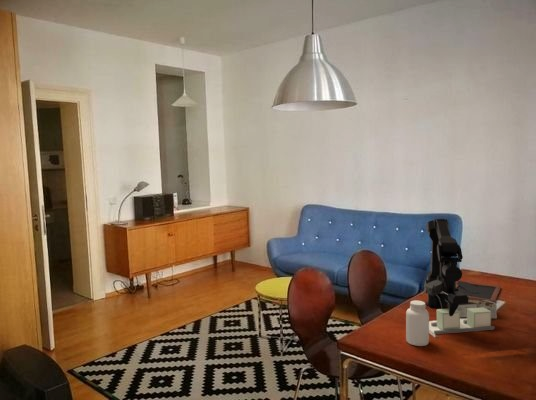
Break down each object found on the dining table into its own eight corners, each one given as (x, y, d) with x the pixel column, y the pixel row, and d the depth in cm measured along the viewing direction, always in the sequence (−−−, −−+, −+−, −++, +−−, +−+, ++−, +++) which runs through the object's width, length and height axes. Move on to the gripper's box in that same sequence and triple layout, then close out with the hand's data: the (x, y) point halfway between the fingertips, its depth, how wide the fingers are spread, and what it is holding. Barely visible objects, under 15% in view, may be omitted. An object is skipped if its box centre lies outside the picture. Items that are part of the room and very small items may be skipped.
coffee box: (496, 302, 171) (454, 301, 173) (497, 319, 170) (455, 317, 172) (488, 299, 179) (448, 298, 182) (488, 315, 179) (449, 314, 181)
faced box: (466, 324, 166) (467, 308, 165) (483, 323, 167) (483, 307, 166) (473, 329, 161) (474, 312, 161) (490, 327, 162) (491, 311, 161)
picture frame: (457, 284, 224) (447, 297, 203) (457, 280, 223) (447, 293, 203) (500, 289, 212) (494, 304, 192) (500, 285, 212) (494, 300, 192)
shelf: (419, 325, 170) (419, 318, 170) (475, 321, 173) (475, 314, 172) (435, 337, 158) (435, 330, 158) (494, 332, 161) (494, 326, 160)
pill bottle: (428, 338, 158) (428, 299, 156) (429, 348, 150) (429, 307, 148) (406, 336, 160) (406, 298, 159) (405, 345, 153) (406, 305, 151)
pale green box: (436, 325, 164) (436, 309, 164) (453, 324, 165) (453, 307, 164) (442, 330, 160) (442, 313, 159) (460, 328, 160) (460, 311, 160)
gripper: (416, 269, 168) (416, 306, 170) (440, 282, 150) (440, 324, 152) (442, 267, 170) (442, 304, 171) (470, 280, 151) (469, 322, 153)
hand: (447, 313), depth 162 cm, fingers closed on pale green box, 5 cm apart
